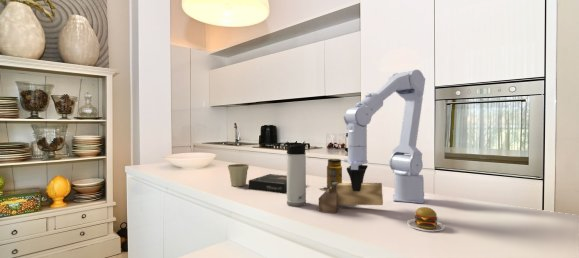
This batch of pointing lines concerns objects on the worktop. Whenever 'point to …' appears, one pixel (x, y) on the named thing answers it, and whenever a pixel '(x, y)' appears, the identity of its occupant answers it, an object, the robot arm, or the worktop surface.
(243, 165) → the flower pot
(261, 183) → the portable cd player
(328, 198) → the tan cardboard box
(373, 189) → the rail
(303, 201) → the travel mug
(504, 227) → the worktop surface
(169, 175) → the worktop surface
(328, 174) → the condiment
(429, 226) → the hamburger
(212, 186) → the worktop surface
